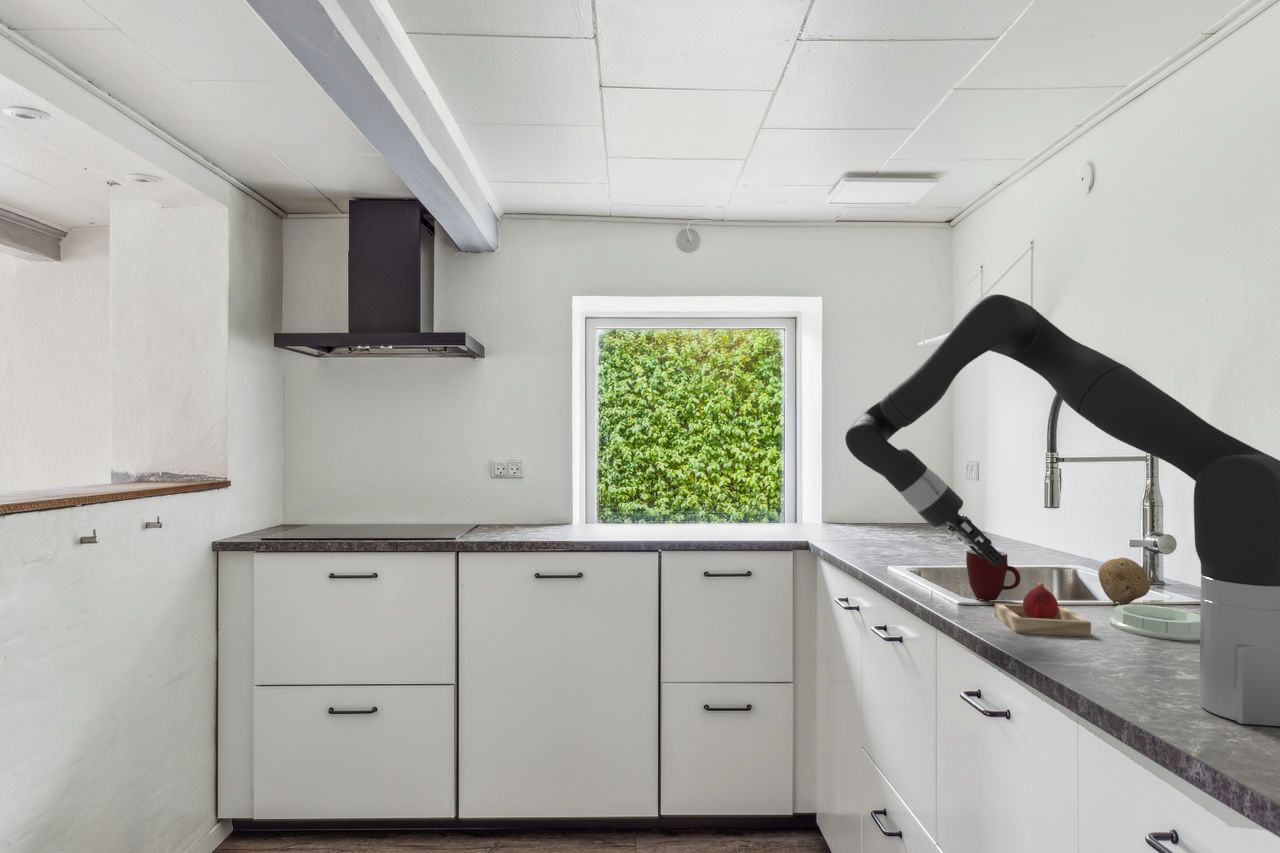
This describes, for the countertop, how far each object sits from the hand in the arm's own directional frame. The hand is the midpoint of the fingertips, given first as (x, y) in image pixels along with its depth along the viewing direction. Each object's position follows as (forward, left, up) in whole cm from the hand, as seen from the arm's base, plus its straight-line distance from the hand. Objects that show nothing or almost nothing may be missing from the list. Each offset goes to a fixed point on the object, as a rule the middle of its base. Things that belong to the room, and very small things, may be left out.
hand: (993, 559), depth 141 cm
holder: (0, -8, -12) cm, 15 cm away
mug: (+22, -6, -12) cm, 26 cm away
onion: (0, -8, -12) cm, 15 cm away
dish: (+2, -29, -12) cm, 32 cm away
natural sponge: (+22, -32, -12) cm, 41 cm away
